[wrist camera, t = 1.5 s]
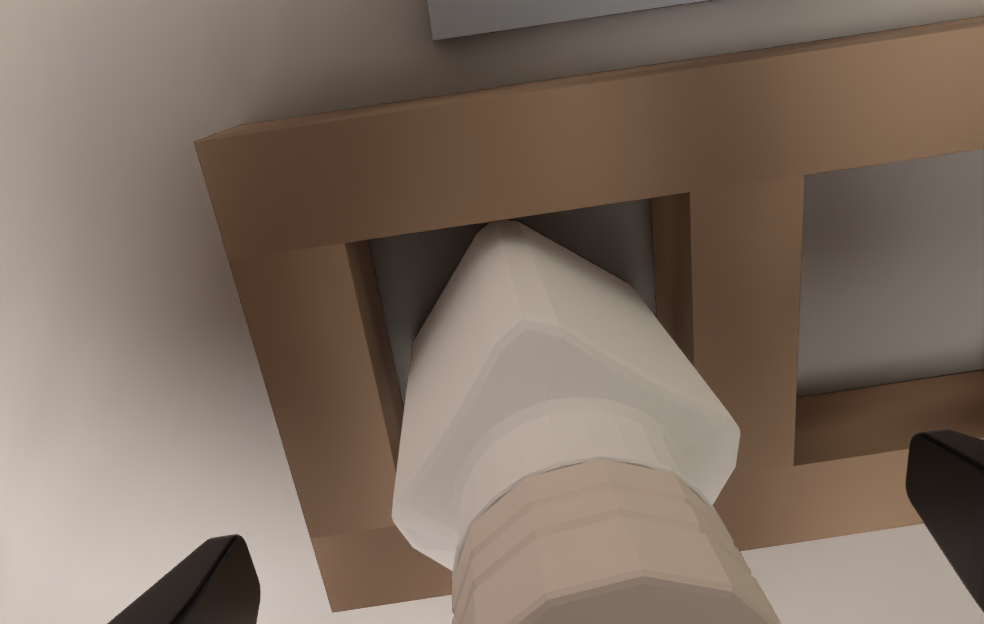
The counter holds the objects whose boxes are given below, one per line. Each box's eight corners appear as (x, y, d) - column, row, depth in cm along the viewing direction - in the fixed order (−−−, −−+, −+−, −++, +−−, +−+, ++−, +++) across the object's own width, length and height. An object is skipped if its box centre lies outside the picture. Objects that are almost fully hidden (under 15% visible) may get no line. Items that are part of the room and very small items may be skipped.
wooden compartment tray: (1147, -8, 13) (1296, -20, 11) (1057, 428, 17) (1154, 488, 15) (238, 125, 13) (193, 142, 11) (348, 534, 17) (332, 612, 14)
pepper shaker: (400, 354, 15) (334, 784, 6) (490, 200, 14) (562, 463, 5) (550, 427, 16) (675, 891, 7) (646, 288, 15) (936, 640, 6)
